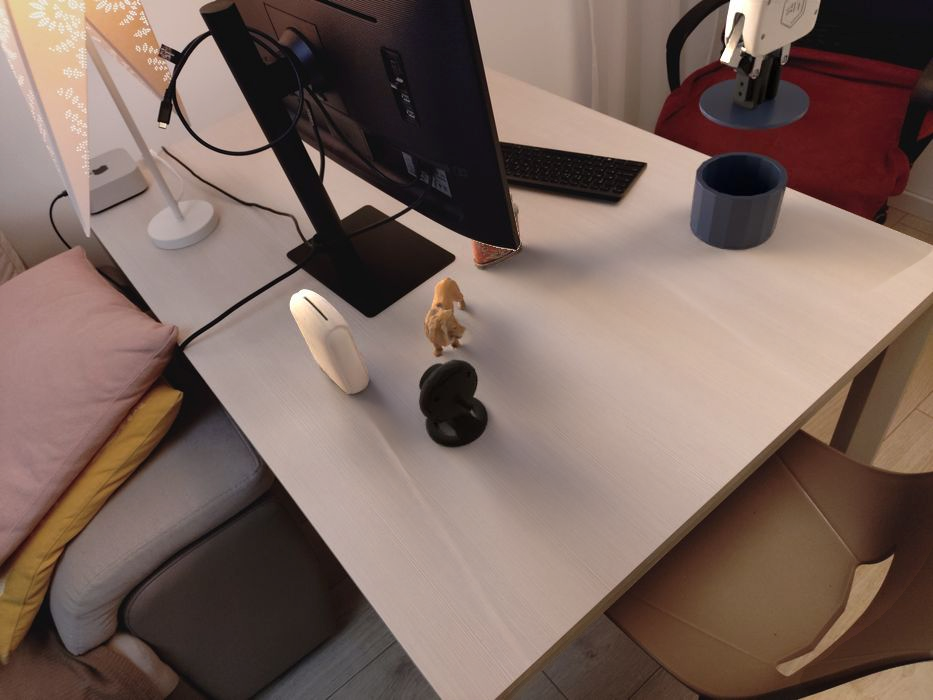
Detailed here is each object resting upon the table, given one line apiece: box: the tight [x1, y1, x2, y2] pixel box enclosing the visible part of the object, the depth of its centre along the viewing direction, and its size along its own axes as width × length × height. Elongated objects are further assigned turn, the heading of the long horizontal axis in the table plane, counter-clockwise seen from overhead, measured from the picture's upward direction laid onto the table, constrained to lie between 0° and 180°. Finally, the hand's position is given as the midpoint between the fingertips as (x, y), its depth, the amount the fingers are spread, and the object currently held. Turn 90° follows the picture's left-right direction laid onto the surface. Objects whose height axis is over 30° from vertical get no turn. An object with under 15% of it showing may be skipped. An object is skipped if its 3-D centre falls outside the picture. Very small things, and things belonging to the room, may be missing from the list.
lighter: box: [471, 193, 523, 271], centre depth 92 cm, size 8×3×10 cm, turn 119°
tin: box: [689, 151, 789, 250], centre depth 89 cm, size 12×12×8 cm
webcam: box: [418, 359, 489, 448], centre depth 72 cm, size 8×8×10 cm
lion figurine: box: [423, 277, 467, 357], centre depth 83 cm, size 15×5×9 cm, turn 4°
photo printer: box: [289, 289, 371, 395], centre depth 80 cm, size 10×4×12 cm, turn 39°
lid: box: [698, 52, 810, 131], centre depth 77 cm, size 13×13×7 cm
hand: (754, 98), depth 78 cm, fingers closed on lid, 2 cm apart
